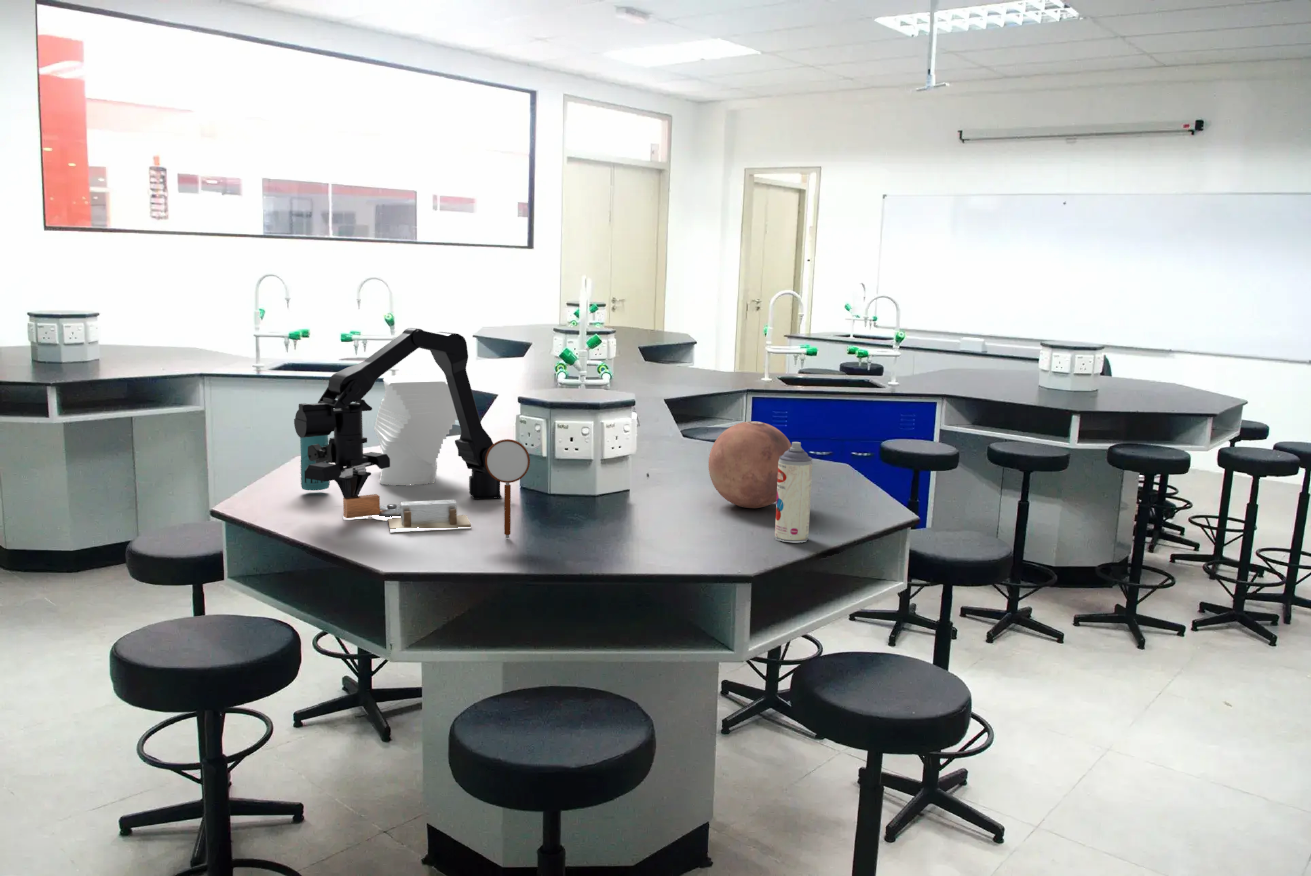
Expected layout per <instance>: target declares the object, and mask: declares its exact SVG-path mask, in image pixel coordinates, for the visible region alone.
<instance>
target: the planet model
mask: <svg viewBox="0 0 1311 876" xmlns="http://www.w3.org/2000/svg"><path fill="white" fill-rule="evenodd" d="M790 447H792V442H790V440H789V439H788V437H787V436H786V434H784V433H783V432H782V431H781V430H780V429H778V428H777V427H775V426H773V425H771V424H769V423H765V422H762V421H754V420H753V421H750V420H749V421H744V422H738V423H736V424H733V425H731V426H730V427H727V428H726V429H725V430H724V431H723V432H722V433H720V434H719V435H718V437H717V438H716V440H714V443H713V445H712V447H711V449H710V453H709V456H708V472H709V479H710V481H711V482H712V485H713V487H714V489H715V490H716V491H717V492H718V494H720V496H721V497H722V498H723V499H724V500H726V501H727V502H729V503H731V504H733V505H735V506H737V507H740V508H746V509H760V508H764V507H768V506H769V505H772V504H774V503H776V501H777V480H778V461H779V459H780V458H779V457H780V456H781V455H783V454H784V453H785V452H786V451H788V449H790Z"/></svg>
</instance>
